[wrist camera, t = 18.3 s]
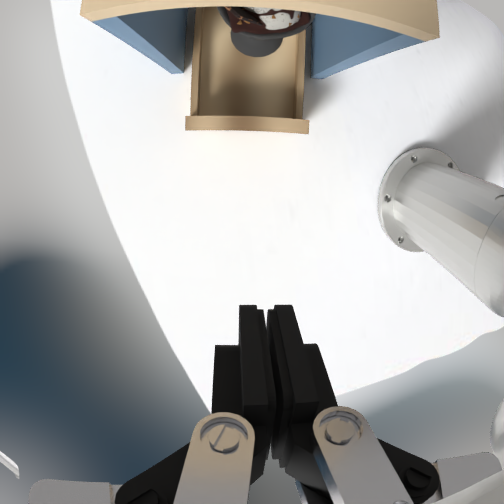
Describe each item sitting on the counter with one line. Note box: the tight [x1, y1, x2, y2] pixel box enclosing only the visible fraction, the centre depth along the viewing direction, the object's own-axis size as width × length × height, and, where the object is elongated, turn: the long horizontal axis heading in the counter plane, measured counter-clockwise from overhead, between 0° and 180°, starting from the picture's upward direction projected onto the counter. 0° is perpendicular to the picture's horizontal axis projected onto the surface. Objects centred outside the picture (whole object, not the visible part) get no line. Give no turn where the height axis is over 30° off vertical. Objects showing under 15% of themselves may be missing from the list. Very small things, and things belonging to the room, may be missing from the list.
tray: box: [185, 6, 309, 134], centre depth 23 cm, size 10×14×5 cm
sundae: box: [217, 6, 316, 57], centre depth 17 cm, size 7×7×15 cm
